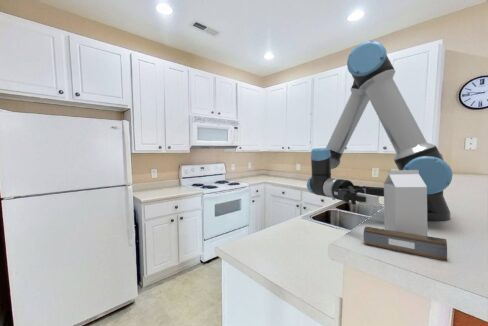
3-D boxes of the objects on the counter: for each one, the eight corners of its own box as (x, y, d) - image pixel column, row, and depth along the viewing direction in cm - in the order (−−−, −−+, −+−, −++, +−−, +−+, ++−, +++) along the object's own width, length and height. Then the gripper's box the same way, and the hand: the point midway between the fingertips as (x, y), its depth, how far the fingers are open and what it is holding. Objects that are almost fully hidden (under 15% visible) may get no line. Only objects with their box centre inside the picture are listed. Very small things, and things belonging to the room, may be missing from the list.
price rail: (366, 241, 59) (366, 226, 59) (446, 256, 49) (446, 239, 49) (363, 244, 57) (363, 229, 57) (447, 262, 46) (447, 243, 46)
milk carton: (427, 245, 55) (426, 170, 54) (396, 244, 56) (395, 171, 56) (412, 235, 62) (411, 169, 61) (384, 234, 63) (383, 169, 63)
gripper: (364, 196, 84) (426, 207, 64) (310, 202, 76) (361, 218, 56) (364, 176, 84) (425, 182, 64) (310, 181, 76) (361, 189, 56)
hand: (396, 198), depth 60 cm, fingers open, 13 cm apart
